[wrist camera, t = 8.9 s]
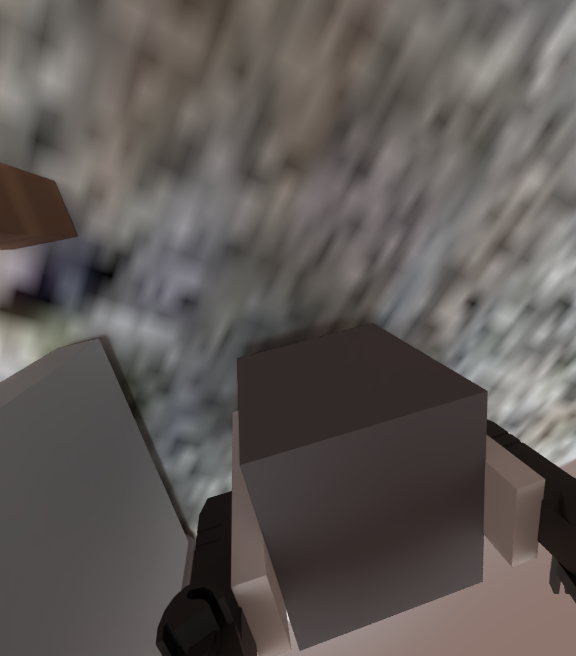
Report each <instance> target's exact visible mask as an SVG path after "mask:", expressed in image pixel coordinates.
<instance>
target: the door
mask: <svg viewBox="0 0 576 656" xmlns="http://www.w3.org/2000/svg"><path fill="white" fill-rule="evenodd" d="M194 547H195V542H194V540H193V538H192V537H191V536H189V535H187V534H185V533H184V531H183V528H182V526H181V524H180V522H179V519H178V517H177V515H176V512H175V510H174V508H173V506H172V503H171V501H170V499H169V497H168V494H167V492H166V490H165V487H164V485H163V483H162V481H161V478H160V476H159V474H158V472H157V469H156V467H155V465H154V462H153V460H152V458H151V456H150V453H149V451H148V449H147V447H146V444H145V442H144V440H143V437H142V435H141V433H140V431H139V428H138V426H137V424H136V422H135V419H134V417H133V415H132V412H131V410H130V408H129V406H128V403H127V401H126V399H125V397H124V394H123V392H122V390H121V387H120V385H119V383H118V381H117V378H116V376H115V374H114V372H113V369H112V367H111V365H110V362H109V360H108V358H107V356H106V353H105V351H104V349H103V346H102V344H101V342H100V340H99V338H98V339H94V340H90V341H86V342H82V343H77V344H73V345H69V346H65V347H61V348H57V349H56V350H54V351H52V352H51V353H49V354H47V355H46V356H44V357H42V358H41V359H39V360H37V361H36V362H34V363H32V364H30V365H29V366H27V367H25V368H24V369H22V370H20V371H19V372H17V373H15V374H14V375H12V376H10V377H9V378H7V379H5V380H4V381H2V382H0V656H162V655H161V653H160V651H159V650H158V648H157V646H156V636H157V628H158V625H159V623H160V620H161V618H162V615H163V613H164V610H165V609H166V608H167V606H168V605H169V603H170V602H171V600H172V599H173V598H174V596H175V595H177V594H178V593H179V592H180V591H181V590H182V589H183V588H184V587H186V586H187V585H190V578H191V570H192V562H193V555H194Z"/></svg>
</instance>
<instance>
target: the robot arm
mask: <svg viewBox="0 0 576 656" xmlns="http://www.w3.org/2000/svg"><path fill="white" fill-rule="evenodd" d="M197 533H198V535H197V538H196V546H195V547H196V550H195V553H194V561H193V569H192V577H191V584H190V585H187V586H186V587H184V588H183V589H182V590H181V591H180V592H179V593H178V594H177V595H175V596H174V598H173V599H172V600H171V602H170V603H169V605H168V606H167V608H166V609H165V610H164V613H163V615H162V618H161V620H160V623H159V625H158V628H157V636H156V646H157V648H158V650H159V651H160V653H161V655H162V656H257V653H258V655H259V656H275V655H278V654H281V653H284V652H286V651H289V650H291V643H290V636H289V628H288V621H287V614H286V607H285V603H284V599H283V596H282V593H281V590H280V587H279V584H278V581H277V578H276V575H275V572H274V569H273V565H272V562H271V559H270V556H269V553H268V550H267V547H266V544H265V541H264V538H263V535H262V533H261V530H260V527H259V524H258V521H257V517H256V514H255V511H254V508H253V505H252V502H251V499H250V496H249V493H248V490H247V487H246V484H245V480H244V477H243V474H242V471H241V468H240V461H239V420H238V411H235V412H233V442H232V491H230V492H227V493H224V494H221V495H217V496H214V497H211V498H208V499H207V501H206V503H205V505H204V507H203V509H202V511H201V513H200V515H199V522H198V530H197ZM483 534H484V535H485V536H486V537H487V538H488V539H489V541H490V542H491V543H492V544H493V545H494V547H495V548H496V549H497V550H498V551H499V552H500V554H501V555H502V556H503V557H504V558H505V559H506V561H507V562H508V563H509V564H510V565H511V566H512V567H513V566H516V565H518V564H521V563H524V562H526V561H529V560H531V559H534V558H537V552H538V542H540V543H541V544H542V545H543V546H544V547H545V548H546V549H547V550H548V551H549V552H550V553H551V554H552V561H551V569H550V581H549V583H550V586H551V588H552V590H553V593H554V594H559V589H560V583H561V582H562V583H563V585H564V588H565V593H566V594H570V595H571V597H572V598H573V600H574V601H575V603H576V478H574V477H572V476H570V475H569V474H567V473H566V472H565V471H563V470H562V469H560V468H559V467H558V466H556V465H555V464H553V463H552V462H550V461H549V460H547V459H546V458H545V457H543V456H542V455H540V454H539V453H537V452H536V451H535V450H533V449H532V448H530V447H529V446H527V445H526V444H524V443H521V442H520V440H519V439H517V438H516V437H514V436H513V435H511V434H508V432H507V431H506V430H504V429H503V428H501V427H500V426H499V425H497V424H496V423H494V422H492V421H490V420H487V431H486V461H485V491H484V530H483Z"/></svg>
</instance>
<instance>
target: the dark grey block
mask: <svg viewBox="0 0 576 656" xmlns="http://www.w3.org/2000/svg"><path fill="white" fill-rule="evenodd" d="M237 380H238V420H239V461H240V468H241V471H242V474H243V477H244V480H245V484H246V487H247V490H248V493H249V496H250V499H251V502H252V505H253V508H254V511H255V514H256V517H257V521H258V524H259V527H260V530H261V533H262V535H263V538H264V541H265V544H266V547H267V550H268V553H269V556H270V559H271V562H272V565H273V569H274V572H275V575H276V578H277V581H278V584H279V587H280V590H281V593H282V596H283V599H284V603H285V607H286V610H287V613H288V616H289V619H290V622H291V625H292V628H293V632H294V635H295V637H296V641H297V644H298V647H299V650H300V651H301V650H303V649H306V648H309V647H311V646H314V645H317V644H319V643H322V642H324V641H327V640H330V639H332V638H335V637H338V636H340V635H343V634H346V633H348V632H351V631H353V630H356V629H359V628H362V627H364V626H367V625H369V624H372V623H375V622H377V621H380V620H383V619H385V618H388V617H391V616H393V615H396V614H399V613H401V612H404V611H406V610H409V609H412V608H414V607H417V606H419V605H422V604H425V603H427V602H430V601H433V600H435V599H438V598H441V597H443V596H446V595H449V594H451V593H454V592H457V591H459V590H462V589H464V588H467V587H470V586H472V585H475V584H478V583H480V582H483V544H484V534H483V530H484V491H485V461H486V431H487V393H488V391H486V390H485V389H483V388H481V387H480V386H478V385H476V384H475V383H473V382H471V381H470V380H468V379H466V378H464V377H463V376H461V375H459V374H458V373H456V372H454V371H453V370H451V369H449V368H448V367H446V366H444V365H443V364H441V363H439V362H437V361H436V360H434V359H432V358H431V357H429V356H427V355H426V354H424V353H422V352H421V351H419V350H417V349H416V348H414V347H412V346H410V345H409V344H407V343H405V342H404V341H402V340H400V339H399V338H397V337H395V336H394V335H392V334H390V333H389V332H387V331H385V330H383V329H382V328H380V327H378V326H377V325H375V324H373V323H372V324H368V325H364V326H360V327H356V328H352V329H348V330H345V331H341V332H337V333H333V334H329V335H325V336H321V337H317V338H314V339H310V340H306V341H302V342H298V343H294V344H290V345H286V346H283V347H279V348H275V349H271V350H267V351H263V352H259V353H255V354H252V355H248V356H244V357H240V358H237Z"/></svg>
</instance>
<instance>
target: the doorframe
mask: <svg viewBox="0 0 576 656" xmlns="http://www.w3.org/2000/svg"><path fill="white" fill-rule="evenodd" d="M73 237H78V236H77V234H76V232H75V229H74V227H73V224H72V222H71V220H70V217H69V215H68V212H67V210H66V208H65V205H64V203H63V200H62V198H61V195H60V193H59V191H58V188H57V186H56V183H55V181H52V180H49V179H46V178H43V177H40V176H37V175H35V174H32V173H29V172H26V171H23V170H20V169H17V168H14V167H11V166H8V165H5V164H2V163H0V250H10V249H17V248H22V247H27V246H32V245H37V244H42V243H47V242H52V241H57V240H62V239H67V238H73ZM194 553H195V552H194ZM193 561H194V555H193ZM192 569H193V562H192ZM191 577H192V570H191ZM190 584H191V578H190Z"/></svg>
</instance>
